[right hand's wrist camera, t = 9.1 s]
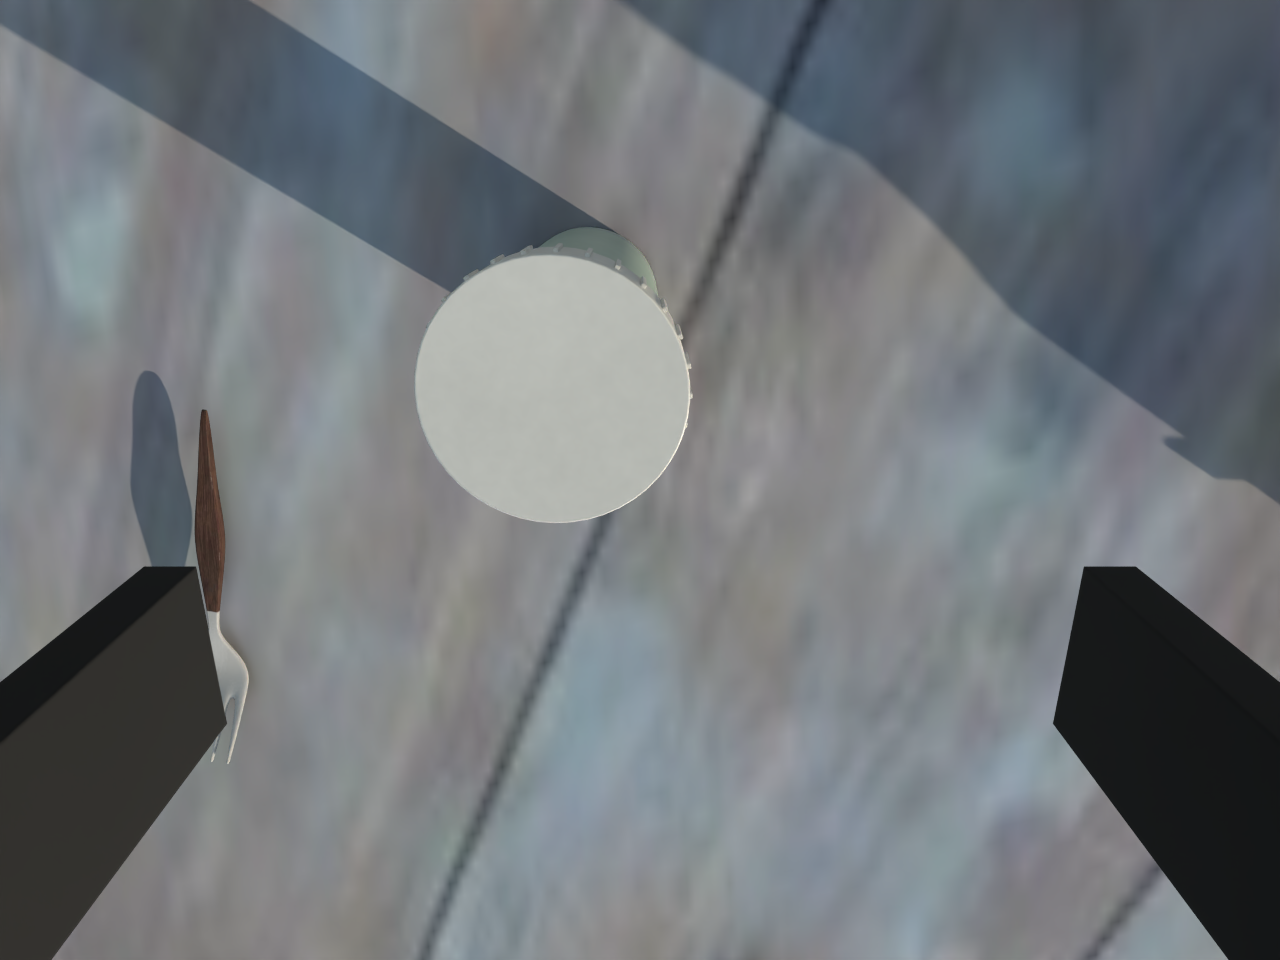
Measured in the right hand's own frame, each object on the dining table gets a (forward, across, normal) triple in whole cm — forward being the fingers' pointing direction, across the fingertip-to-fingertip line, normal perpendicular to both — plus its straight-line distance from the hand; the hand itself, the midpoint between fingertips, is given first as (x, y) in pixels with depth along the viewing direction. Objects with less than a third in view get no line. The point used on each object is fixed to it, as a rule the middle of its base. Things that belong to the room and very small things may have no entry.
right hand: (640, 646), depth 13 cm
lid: (+7, -2, +2) cm, 8 cm away
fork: (+22, -18, -10) cm, 31 cm away
